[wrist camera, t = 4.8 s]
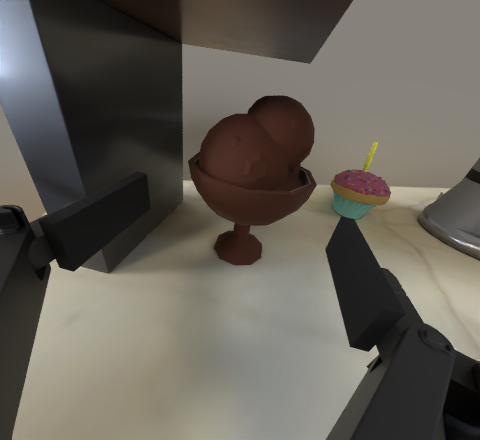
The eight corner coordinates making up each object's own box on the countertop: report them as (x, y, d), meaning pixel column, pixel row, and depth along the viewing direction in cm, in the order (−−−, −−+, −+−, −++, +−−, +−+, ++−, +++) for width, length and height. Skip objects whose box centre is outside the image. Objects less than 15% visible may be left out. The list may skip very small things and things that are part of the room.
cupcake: (318, 196, 39) (345, 129, 33) (364, 205, 38) (400, 139, 32) (327, 219, 32) (363, 139, 25) (383, 231, 31) (435, 151, 25)
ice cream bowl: (253, 215, 29) (278, 95, 21) (306, 270, 22) (378, 112, 14) (178, 227, 25) (175, 77, 17) (212, 304, 17) (238, 87, 9)
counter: (269, 218, 30) (317, 36, 19) (254, 319, 16) (392, -114, 5) (159, 193, 31) (146, 12, 20) (62, 266, 18) (-127, -152, 7)
